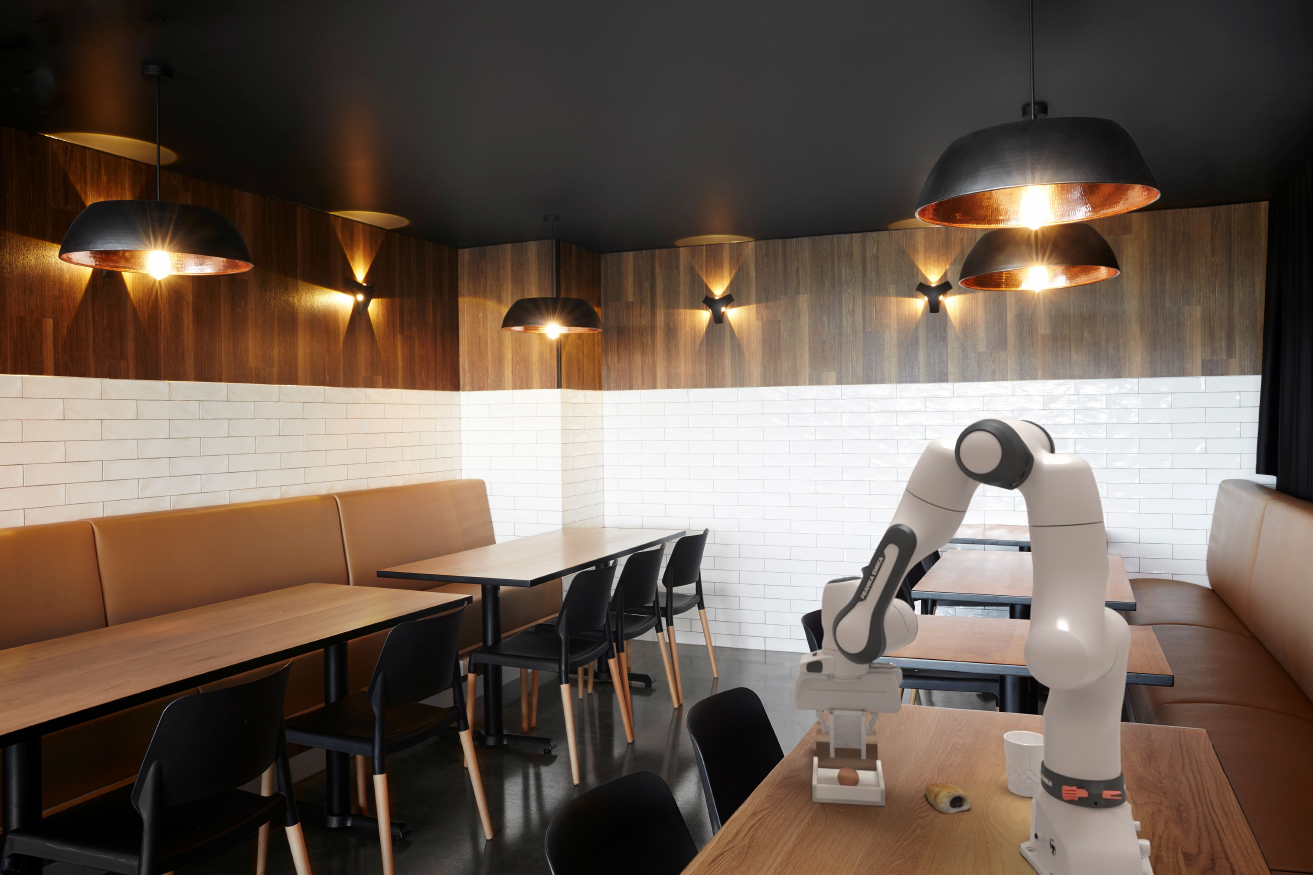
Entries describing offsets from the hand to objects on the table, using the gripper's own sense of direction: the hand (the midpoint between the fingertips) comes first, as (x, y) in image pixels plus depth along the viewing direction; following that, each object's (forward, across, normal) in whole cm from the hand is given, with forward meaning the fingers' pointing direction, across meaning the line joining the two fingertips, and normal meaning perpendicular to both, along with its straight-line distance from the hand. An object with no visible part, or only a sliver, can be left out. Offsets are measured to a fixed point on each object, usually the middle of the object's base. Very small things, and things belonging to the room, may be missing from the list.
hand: (847, 733), depth 170 cm
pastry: (+11, -17, +5) cm, 21 cm away
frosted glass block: (+4, 0, 0) cm, 4 cm away
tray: (+10, 0, +1) cm, 10 cm away
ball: (+6, 0, +2) cm, 6 cm away
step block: (+10, 0, -13) cm, 17 cm away
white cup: (+11, -33, -3) cm, 35 cm away
